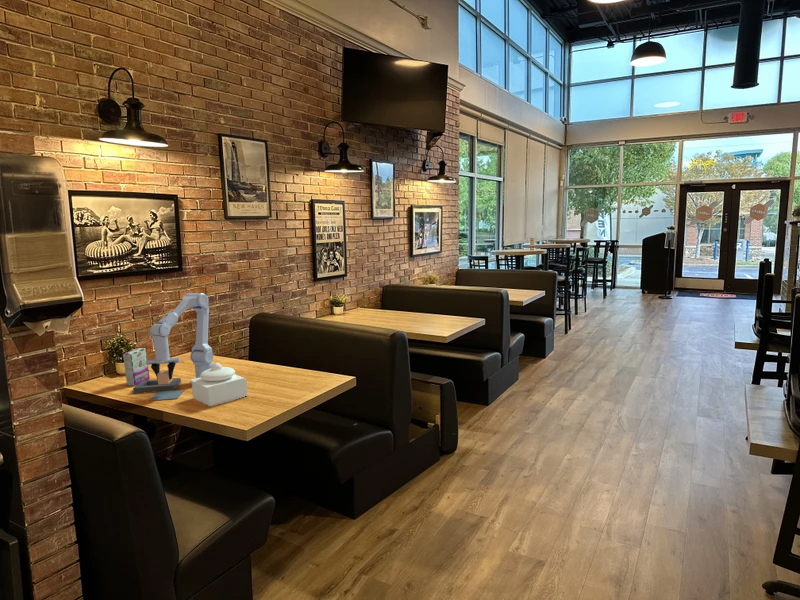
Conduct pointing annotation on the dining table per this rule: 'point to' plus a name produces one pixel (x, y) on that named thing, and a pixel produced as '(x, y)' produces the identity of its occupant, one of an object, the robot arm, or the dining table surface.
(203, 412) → the dining table surface
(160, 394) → the rubber mat
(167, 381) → the coral block
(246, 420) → the dining table surface
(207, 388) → the white domed box
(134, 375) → the candy bar box
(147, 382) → the dark grey tray
